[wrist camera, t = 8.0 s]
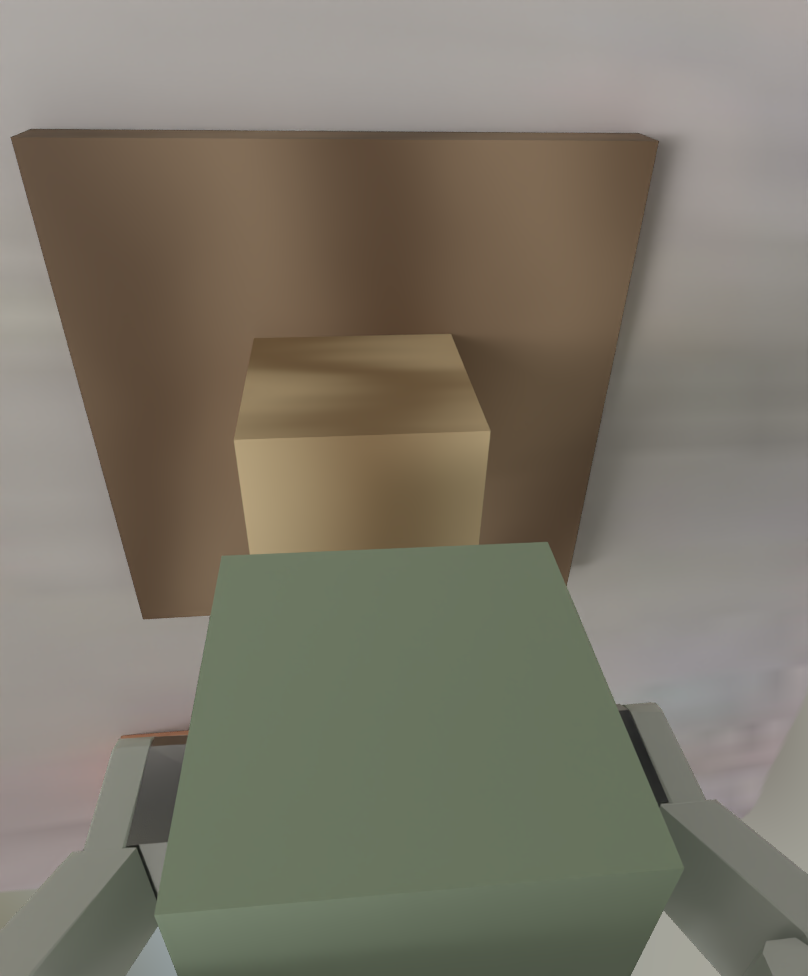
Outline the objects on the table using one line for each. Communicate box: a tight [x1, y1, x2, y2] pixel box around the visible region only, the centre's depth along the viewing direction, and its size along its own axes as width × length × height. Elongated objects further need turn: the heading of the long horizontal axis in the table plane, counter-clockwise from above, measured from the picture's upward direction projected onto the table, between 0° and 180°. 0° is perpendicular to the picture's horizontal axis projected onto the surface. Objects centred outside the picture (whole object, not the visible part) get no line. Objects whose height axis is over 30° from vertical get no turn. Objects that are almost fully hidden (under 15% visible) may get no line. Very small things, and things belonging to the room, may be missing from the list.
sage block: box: [154, 542, 684, 976], centre depth 10 cm, size 5×5×5 cm
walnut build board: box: [11, 129, 659, 619], centre depth 17 cm, size 14×14×6 cm
